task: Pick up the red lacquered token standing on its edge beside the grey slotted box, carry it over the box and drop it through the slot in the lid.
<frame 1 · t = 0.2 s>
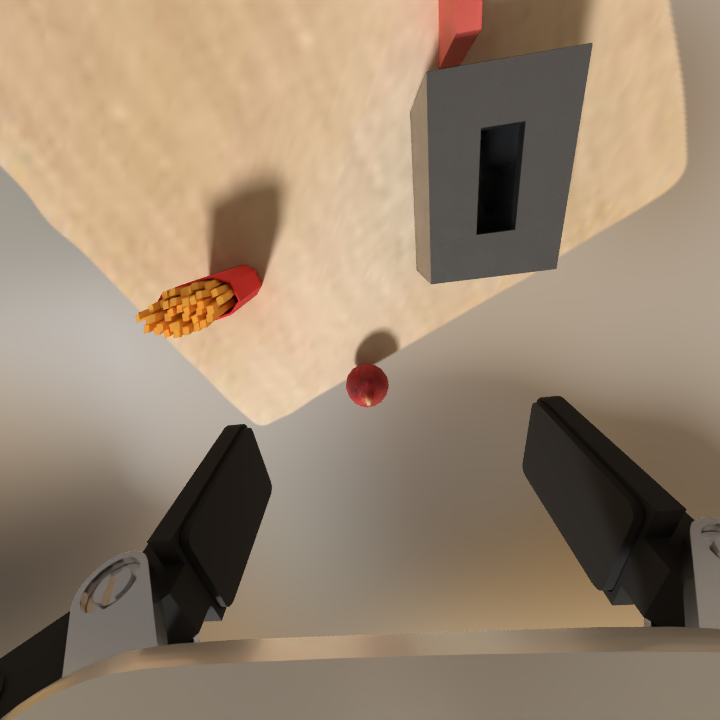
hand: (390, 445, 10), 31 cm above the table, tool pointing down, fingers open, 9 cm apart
grey slotted box: (466, 191, 33), on the table
french fries: (234, 285, 38), on the table
onion: (367, 371, 44), on the table
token: (449, 24, 27), on the table
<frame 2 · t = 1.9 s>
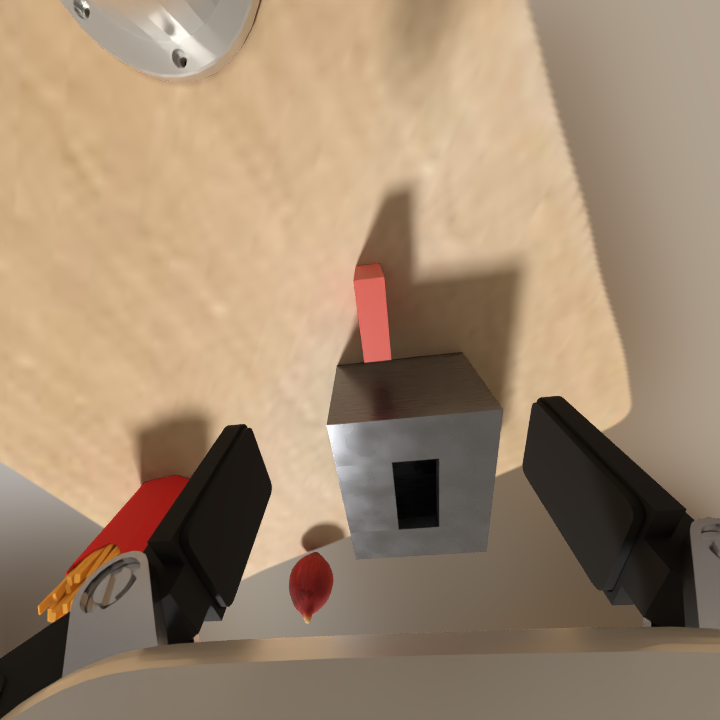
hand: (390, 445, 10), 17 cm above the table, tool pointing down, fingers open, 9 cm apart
grey slotted box: (403, 424, 31), on the table
french fries: (168, 488, 37), on the table
onion: (315, 551, 42), on the table
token: (371, 300, 25), on the table
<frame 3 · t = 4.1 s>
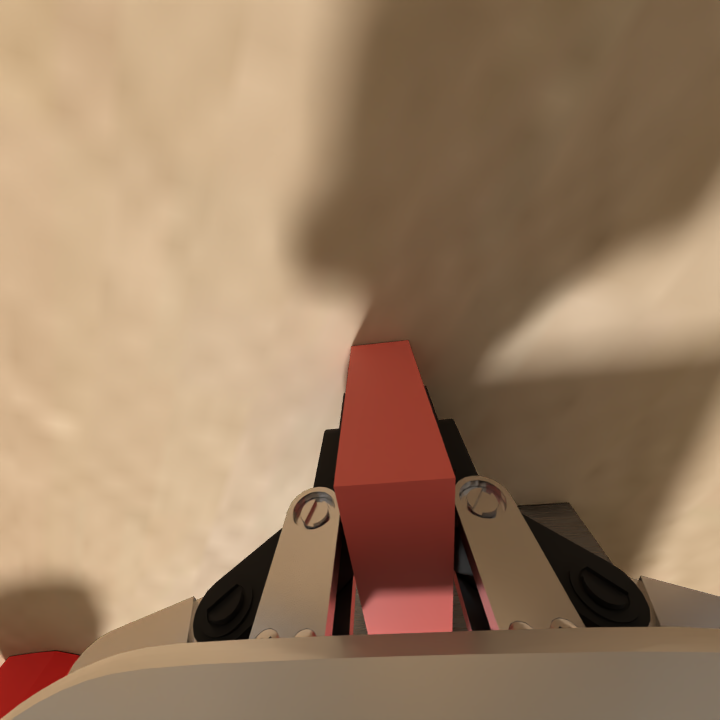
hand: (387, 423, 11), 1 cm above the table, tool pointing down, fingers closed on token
grey slotted box: (439, 600, 17), on the table
french fries: (51, 662, 23), on the table
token: (386, 413, 11), on the table, touching gripper
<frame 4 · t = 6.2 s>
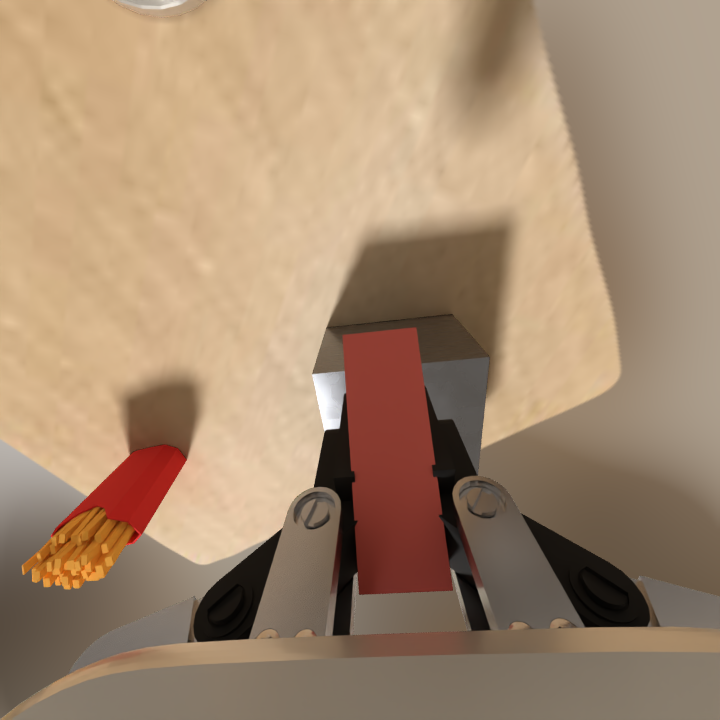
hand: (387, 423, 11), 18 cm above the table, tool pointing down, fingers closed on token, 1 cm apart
grey slotted box: (393, 391, 31), on the table
french fries: (157, 458, 36), on the table
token: (389, 443, 13), point 17 cm above the table, tilted 43°, touching gripper
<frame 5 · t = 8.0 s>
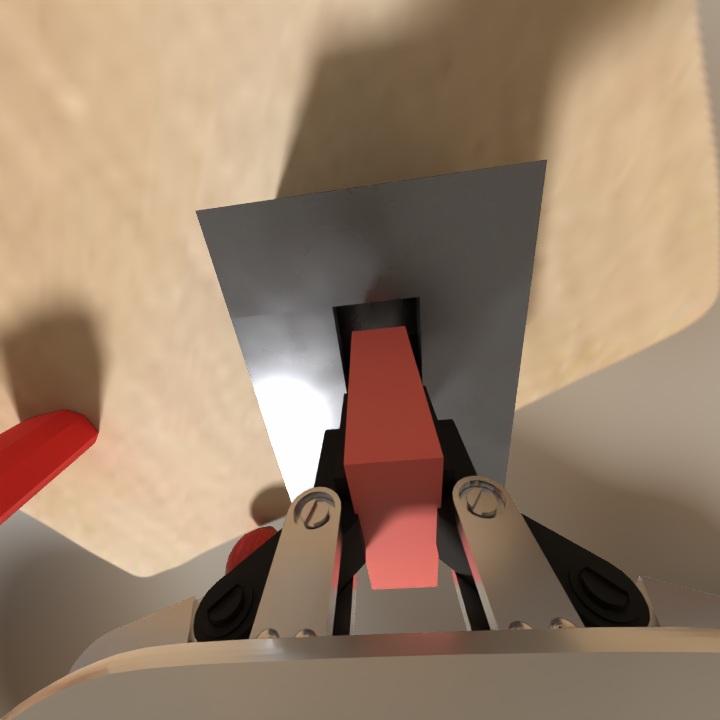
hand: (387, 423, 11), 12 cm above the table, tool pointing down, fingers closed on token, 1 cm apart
grey slotted box: (377, 324, 21), on the table
french fries: (60, 431, 27), on the table
onion: (270, 526, 32), on the table
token: (394, 497, 12), point 12 cm above the table, tilted 83°, touching gripper
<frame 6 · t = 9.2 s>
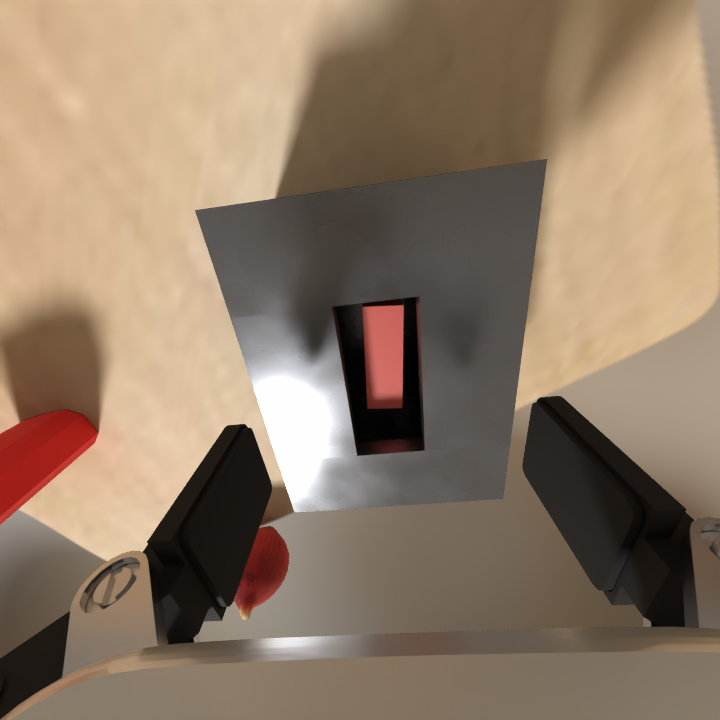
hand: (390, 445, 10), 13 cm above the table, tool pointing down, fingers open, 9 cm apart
grey slotted box: (377, 323, 21), on the table
french fries: (60, 431, 27), on the table
onion: (270, 526, 32), on the table
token: (383, 382, 19), point 4 cm above the table, tilted 90°, touching grey slotted box
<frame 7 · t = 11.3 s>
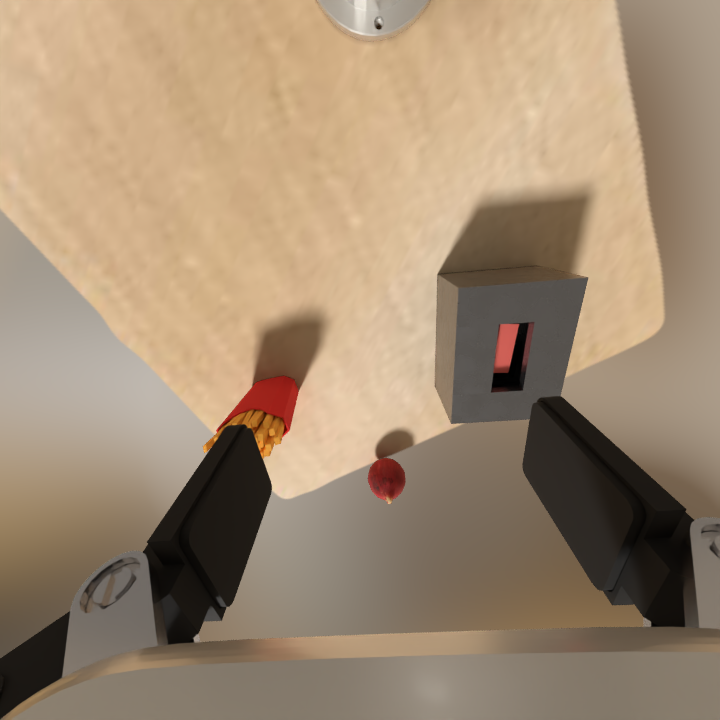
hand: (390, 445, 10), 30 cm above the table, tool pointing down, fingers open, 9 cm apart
grey slotted box: (481, 331, 39), on the table
french fries: (274, 389, 44), on the table
onion: (385, 460, 49), on the table
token: (489, 362, 37), point 4 cm above the table, tilted 90°, touching grey slotted box
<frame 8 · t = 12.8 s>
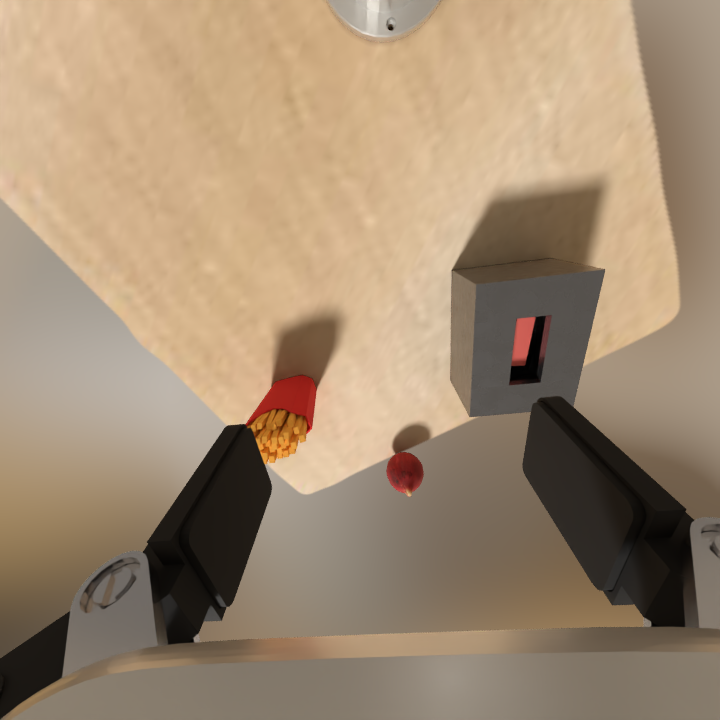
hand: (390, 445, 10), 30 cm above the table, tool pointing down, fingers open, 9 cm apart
grey slotted box: (495, 325, 39), on the table
french fries: (292, 389, 45), on the table
onion: (402, 454, 50), on the table
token: (505, 355, 37), point 4 cm above the table, tilted 90°, touching grey slotted box
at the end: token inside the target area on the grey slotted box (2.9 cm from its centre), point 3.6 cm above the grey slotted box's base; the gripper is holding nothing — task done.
